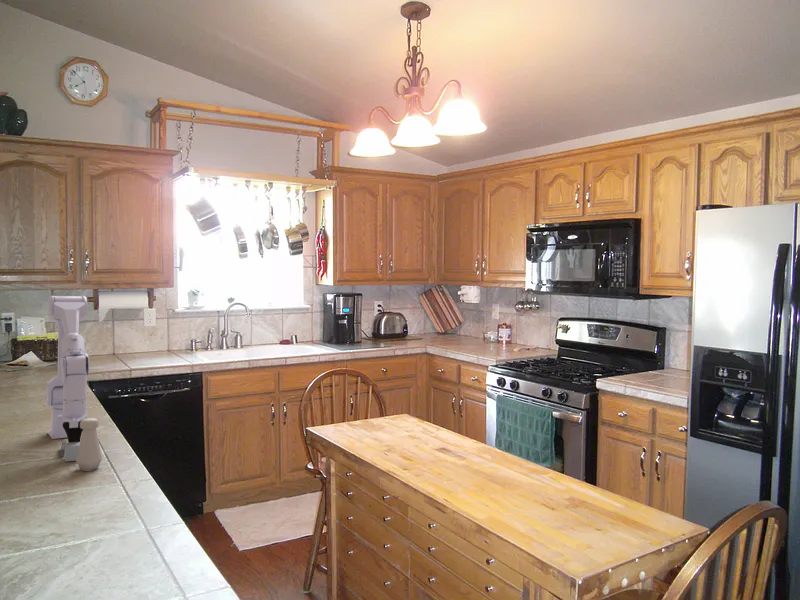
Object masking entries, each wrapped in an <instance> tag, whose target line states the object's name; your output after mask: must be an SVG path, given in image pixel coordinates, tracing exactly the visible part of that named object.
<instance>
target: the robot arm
mask: <svg viewBox="0 0 800 600" xmlns="http://www.w3.org/2000/svg"><path fill="white" fill-rule="evenodd" d="M48 298H49V299H48V319H49V322H53V323H55V324H56V326H57V374H56V375H55V376H53V377H52V378H51V379H49V380H48V381H47V384H46V393H45V394H46V395H45V397H46V405H47V406H48V407H49V408H51V413H50V430H47V434H48V436H49V437H50V438H51V439H52V440H56V439H62V438H64V439H65V438H67V443H71V442H80V441H81V437H82V432H83V429H81V428H80V422H81V421H82V420H83V419H86V418H87V417H88V413H87V396H88V395H87V392H88V390H87V388H88V387H87V385H88V383H87V382H88V381H87V380H88V379H87V378H88V377H87V376H88V375H89V372H90V359H89V355H88V352H87V351H86V346H85V345H86V344H85V338H84V337H83V336H82V335H81V334H79V333H80V322H82V321H84V319H85V317H86V315H87V314H88V298H87V297H86V296H85V295H81V296H79V295H78V296H77V295H76V296H74V295H71V296H70V295H65V296H64V295H50V297H48Z"/></svg>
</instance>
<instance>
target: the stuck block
mask: <svg viewBox="0 0 800 600" xmlns="http://www.w3.org/2000/svg"><path fill="white" fill-rule="evenodd" d="M79 446H80V442H71V443H68V442H66V445H65V457H64V462H75V461H76V460H77V455H78V450H79Z"/></svg>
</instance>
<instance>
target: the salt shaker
mask: <svg viewBox="0 0 800 600" xmlns="http://www.w3.org/2000/svg"><path fill="white" fill-rule="evenodd" d="M99 421H100V420H99V419H97V418H95V417H88V418H87V417H86V418H84V419H83V420H82V421H81V422H80V428H81V429H83V431H82V435H81V439H80V446H79V450H78V455H77V460H76V464H77V465H78V468H79V471H81V470H82V472H89V470H91V471H94V470H97V469H99V467H100V464H101V462H102V459H103V457H102V451H101V446H100V442H99V436H98V431H97V428H98V427H99V425H100V422H99ZM96 468H97V469H96Z"/></svg>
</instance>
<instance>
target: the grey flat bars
mask: <svg viewBox="0 0 800 600" xmlns="http://www.w3.org/2000/svg"><path fill="white" fill-rule="evenodd" d="M66 443H67V441H66V440H64V441H61V446H60V449H59V450H60V452H59V454H60V455H59V457H60V458H64V457H63V456H65V445H66Z"/></svg>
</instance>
